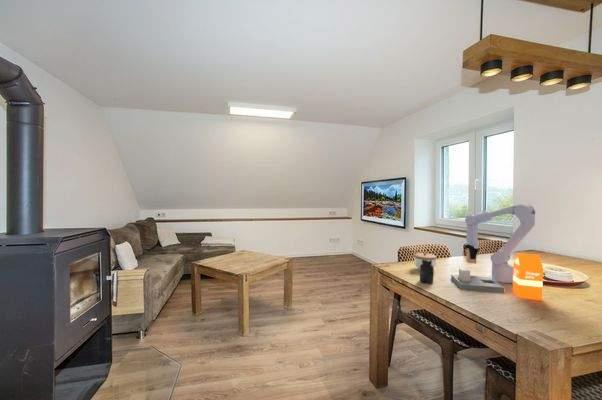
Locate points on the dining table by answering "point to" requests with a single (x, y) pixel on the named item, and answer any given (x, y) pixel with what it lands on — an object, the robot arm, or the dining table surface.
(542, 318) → the dining table surface
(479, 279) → the socket board
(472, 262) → the peg
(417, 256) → the lidded bowl
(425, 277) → the supplement bottle
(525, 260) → the orange juice
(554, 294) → the dining table surface
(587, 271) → the dining table surface
